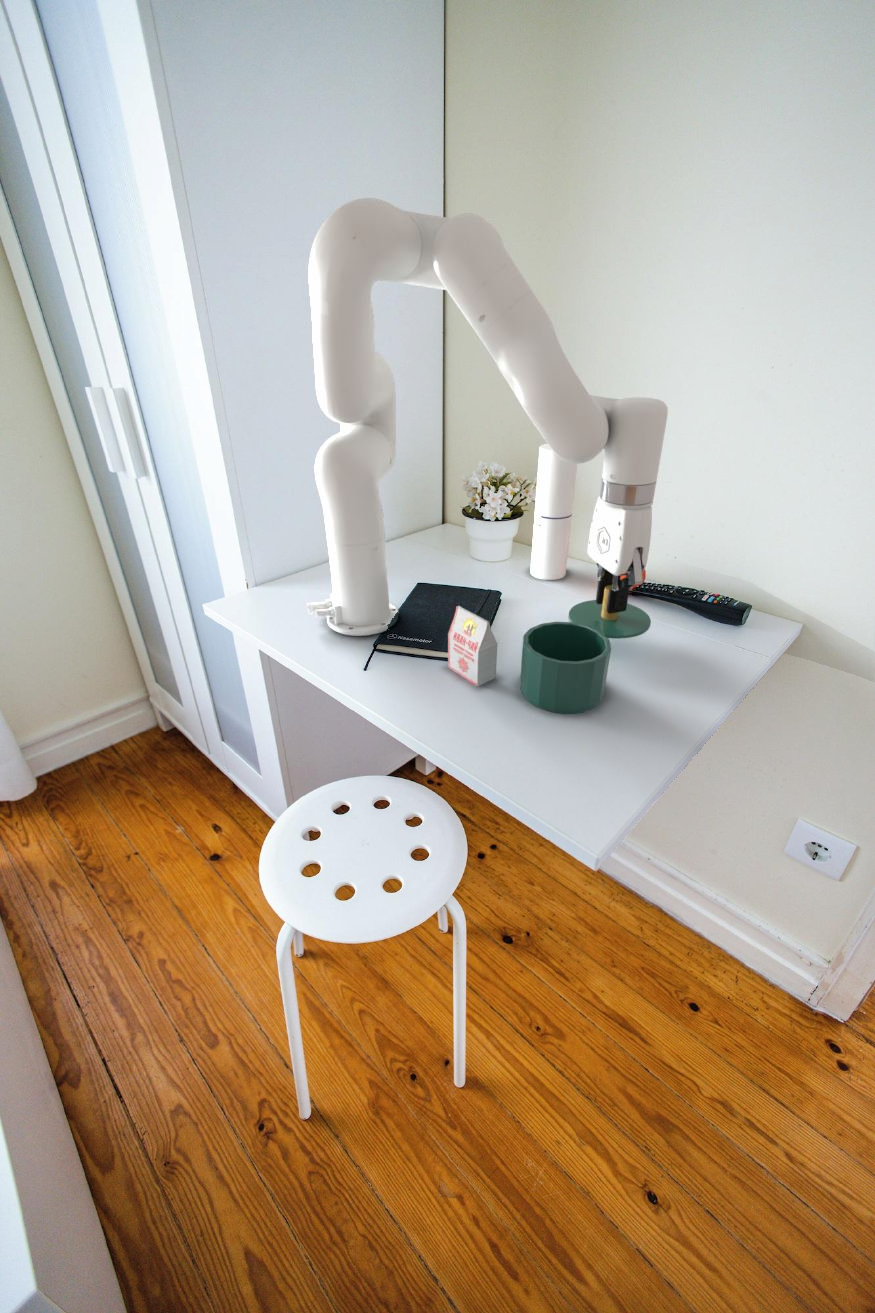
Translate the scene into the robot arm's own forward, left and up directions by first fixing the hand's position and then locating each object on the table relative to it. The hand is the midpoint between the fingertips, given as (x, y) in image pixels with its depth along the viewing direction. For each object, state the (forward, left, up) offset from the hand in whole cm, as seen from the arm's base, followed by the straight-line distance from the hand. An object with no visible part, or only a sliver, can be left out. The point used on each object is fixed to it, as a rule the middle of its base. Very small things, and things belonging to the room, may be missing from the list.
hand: (610, 606), depth 95 cm
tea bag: (-24, -3, -7) cm, 25 cm away
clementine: (+13, +17, -7) cm, 22 cm away
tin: (-13, -11, -6) cm, 18 cm away
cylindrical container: (+3, +29, -7) cm, 30 cm away
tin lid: (0, 0, -2) cm, 2 cm away
